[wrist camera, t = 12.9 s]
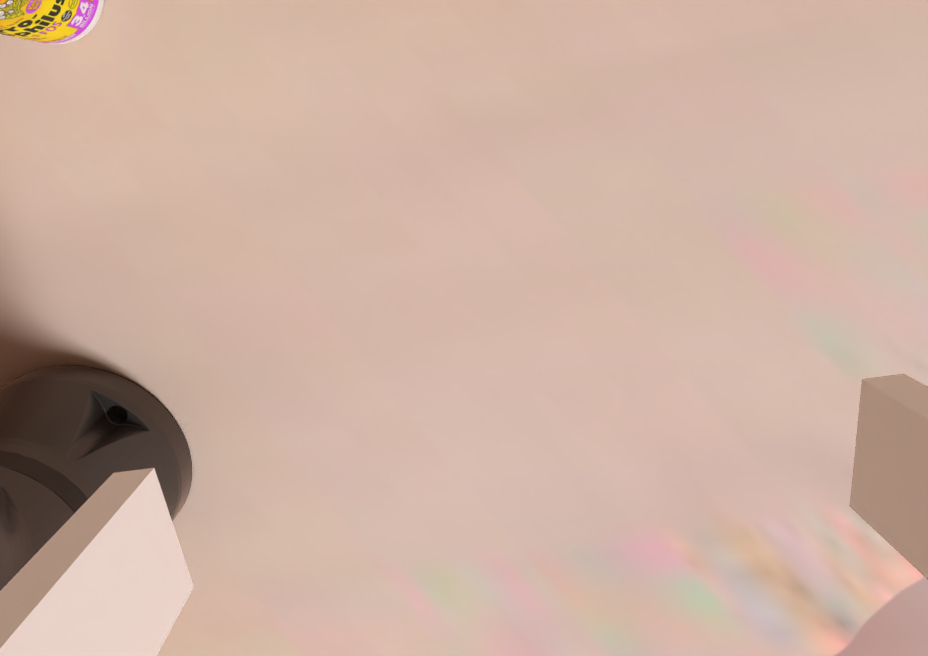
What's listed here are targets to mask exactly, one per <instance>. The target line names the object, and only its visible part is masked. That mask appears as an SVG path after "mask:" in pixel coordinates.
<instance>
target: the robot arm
mask: <svg viewBox="0 0 928 656" xmlns="http://www.w3.org/2000/svg"><path fill="white" fill-rule="evenodd" d="M191 481H192V462H191V456H190V452H189V448H188V445H187V442H186V440H185V437H184V435H183V433H182V431H181V429H180V428H179V426H178V424H177V423H176V421H175V420H174V418H173V417H172V416H171V414H170V413H169V412H168V411H167V410H166V409H165V408H164V407H163V406H162V405H161V403H160V402H158V401H157V400H156V399H155V398H154V397H153V396H151V395H150V394H149V393H148V392H146V391H145V390H143V389H142V388H141V387H139V386H137V385H136V384H134V383H132V382H130V381H128V380H126V379H124V378H122V377H120V376H118V375H115V374H112V373H110V372H106V371H103V370H99V369H95V368H90V367H84V366H71V365H65V366H52V367H46V368H42V369H38V370H35V371H32V372H29V373H27V374H25V375H23V376H21V377H19V378H17V379H15V380H14V381H12V382H10V383H8V384H7V385H5V386H3V387H2V388H0V656H157V654H158V652H159V650H160V648H161V647H162V645H163V643H164V641H165V639H166V637H167V636H168V634H169V632H170V630H171V628H172V626H173V625H174V623H175V621H176V619H177V617H178V615H179V614H180V612H181V610H182V608H183V606H184V604H185V603H186V601H187V599H188V597H189V595H190V593H191V592H192V590H193V588H194V586H193V583H192V580H191V577H190V574H189V571H188V568H187V565H186V562H185V559H184V556H183V553H182V550H181V547H180V544H179V541H178V538H177V535H176V532H175V529H174V526H173V523H172V521H173V519H174V518H175V517H176V515H177V514H178V512H179V511H180V510H181V508H182V507H183V505H184V503H185V501H186V499H187V496H188V493H189V490H190V486H191ZM850 507H851V508H852V509H853V510H854V511H855V512H856V513H857V514H858V515H859V516H860V517H861V518H863V519H864V520H865V521H866V522H867V523H868V524H869V525H870V526H871V527H872V528H873V529H874V530H875V531H876V532H877V533H879V534H880V535H881V536H882V537H883V538H884V539H885V540H886V541H887V542H888V543H889V544H890V545H891V546H892V547H894V548H895V549H896V550H897V551H898V552H899V553H900V554H901V555H902V556H903V557H904V558H905V559H906V560H907V561H908V562H910V563H911V564H912V565H913V566H914V567H915V568H916V569H917V570H918V571H919V572H920V573H921V574H922V575H923V576H925V577H926V578H927V579H928V387H927V386H926V385H924V384H922V383H920V382H918V381H916V380H914V379H913V378H911V377H909V376H907V375H905V374H899V375H891V376H883V377H875V378H867V379H862V385H861V395H860V406H859V416H858V426H857V436H856V446H855V457H854V467H853V477H852V487H851V497H850Z"/></svg>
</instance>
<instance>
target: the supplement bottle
mask: <svg viewBox="0 0 928 656" xmlns="http://www.w3.org/2000/svg"><path fill="white" fill-rule="evenodd" d="M103 6H104V0H0V34H3V35H8V36H13V37H18V38H22V39H27V40H32V41H37V42H42V43H48V44H65V43H70V42H73V41H76V40H78V39H80V38H82V37H84V36H85V35H86V34H88V33H89V32H90V31H91V30H92V29H93V27H94V26H95V25H96V23H97V22H98V20H99V18H100V16H101V13H102V10H103Z"/></svg>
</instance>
